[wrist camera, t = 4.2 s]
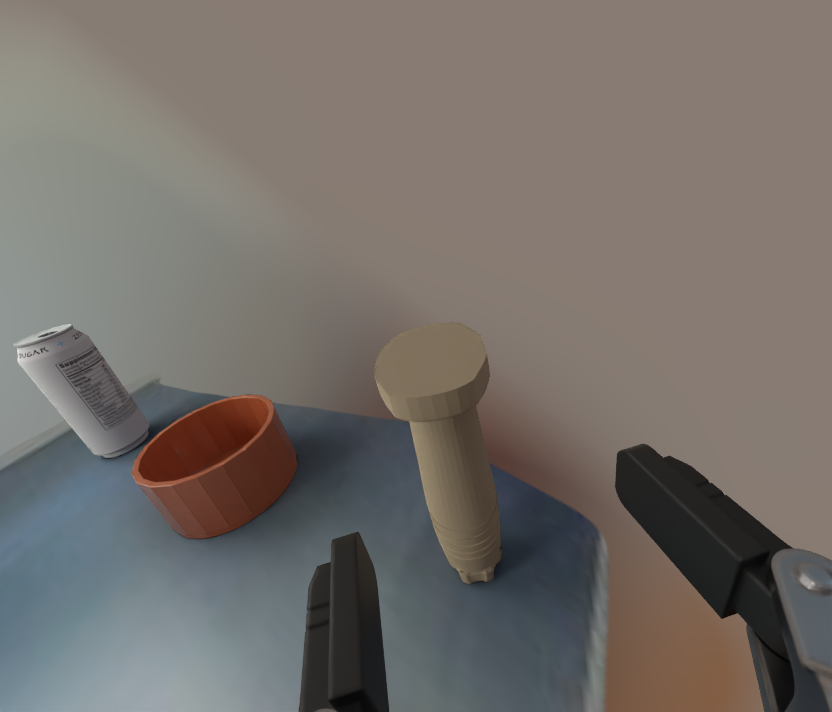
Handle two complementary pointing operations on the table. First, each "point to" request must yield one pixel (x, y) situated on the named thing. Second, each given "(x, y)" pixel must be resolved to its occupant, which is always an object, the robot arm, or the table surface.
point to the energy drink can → (83, 389)
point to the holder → (217, 466)
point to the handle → (447, 437)
